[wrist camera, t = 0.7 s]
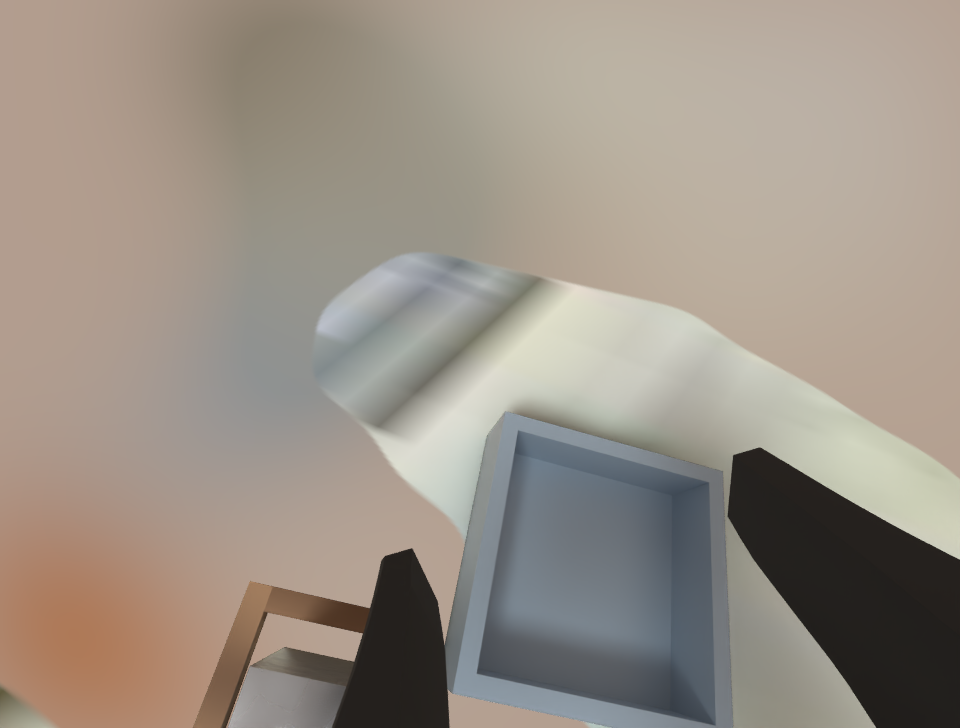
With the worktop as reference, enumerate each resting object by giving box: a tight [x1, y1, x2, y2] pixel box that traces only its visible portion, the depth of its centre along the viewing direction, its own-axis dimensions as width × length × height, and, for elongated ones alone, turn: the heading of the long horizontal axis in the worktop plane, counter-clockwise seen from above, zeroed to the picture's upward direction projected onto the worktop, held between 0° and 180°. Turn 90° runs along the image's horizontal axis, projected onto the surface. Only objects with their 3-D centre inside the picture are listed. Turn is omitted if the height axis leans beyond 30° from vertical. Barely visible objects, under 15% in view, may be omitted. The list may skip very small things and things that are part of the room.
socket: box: [193, 581, 370, 728], centre depth 20 cm, size 8×8×1 cm
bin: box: [445, 411, 733, 728], centre depth 24 cm, size 12×12×4 cm
